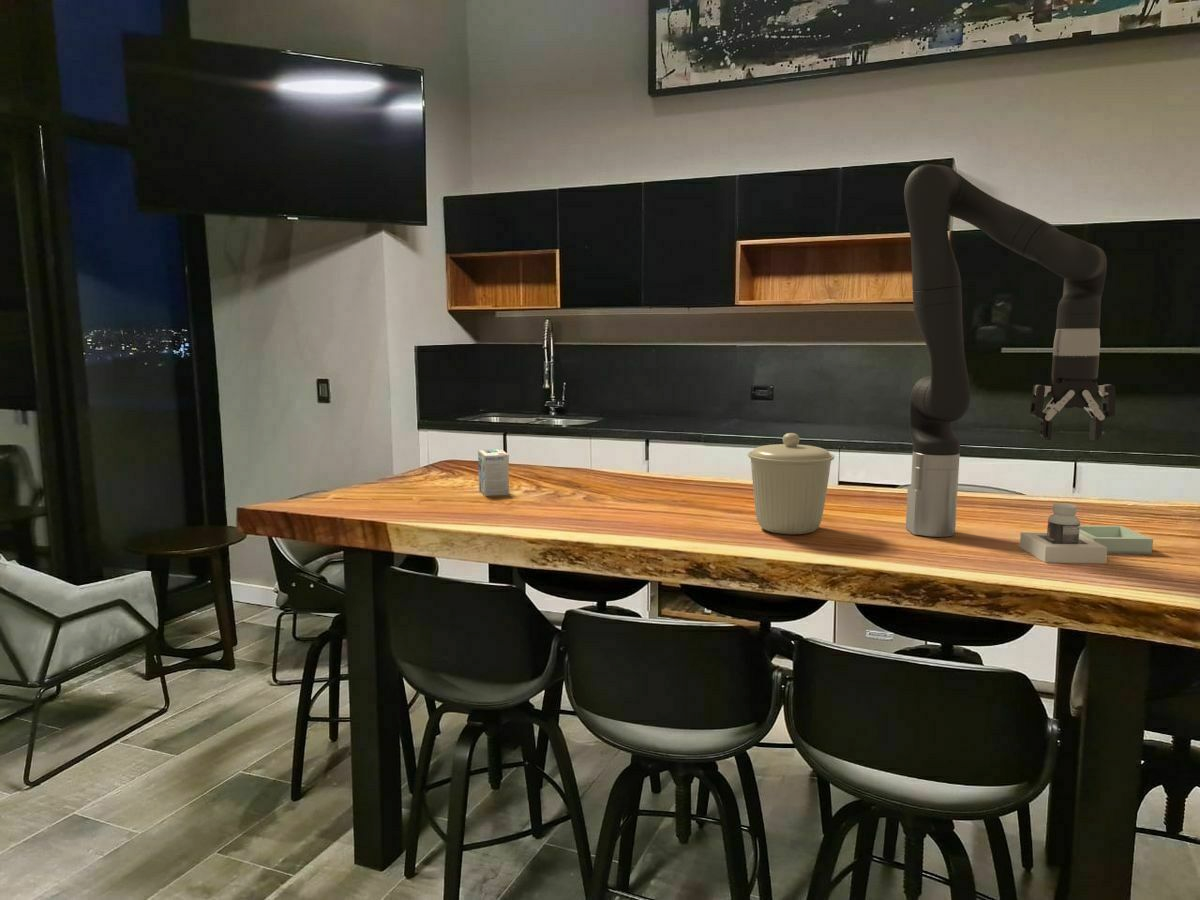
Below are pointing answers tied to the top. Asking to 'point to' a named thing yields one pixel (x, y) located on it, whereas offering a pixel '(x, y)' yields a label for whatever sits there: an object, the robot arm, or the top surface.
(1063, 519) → the pill bottle
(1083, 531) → the parts tray
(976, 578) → the top surface
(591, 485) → the top surface
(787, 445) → the canister
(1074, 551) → the socket block
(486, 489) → the light bulb box
